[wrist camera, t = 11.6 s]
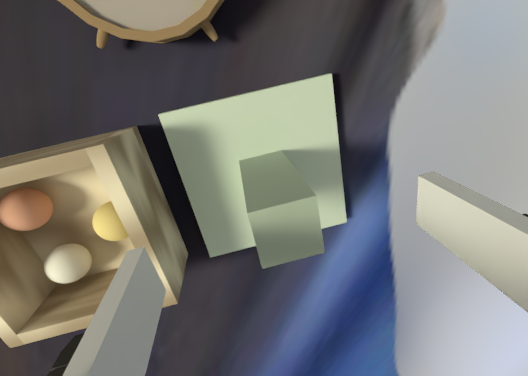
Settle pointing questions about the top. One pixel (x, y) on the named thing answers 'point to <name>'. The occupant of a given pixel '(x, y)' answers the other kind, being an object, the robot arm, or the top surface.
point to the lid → (262, 169)
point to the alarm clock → (146, 18)
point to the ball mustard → (108, 223)
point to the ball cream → (67, 263)
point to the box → (82, 231)
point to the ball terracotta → (25, 209)
